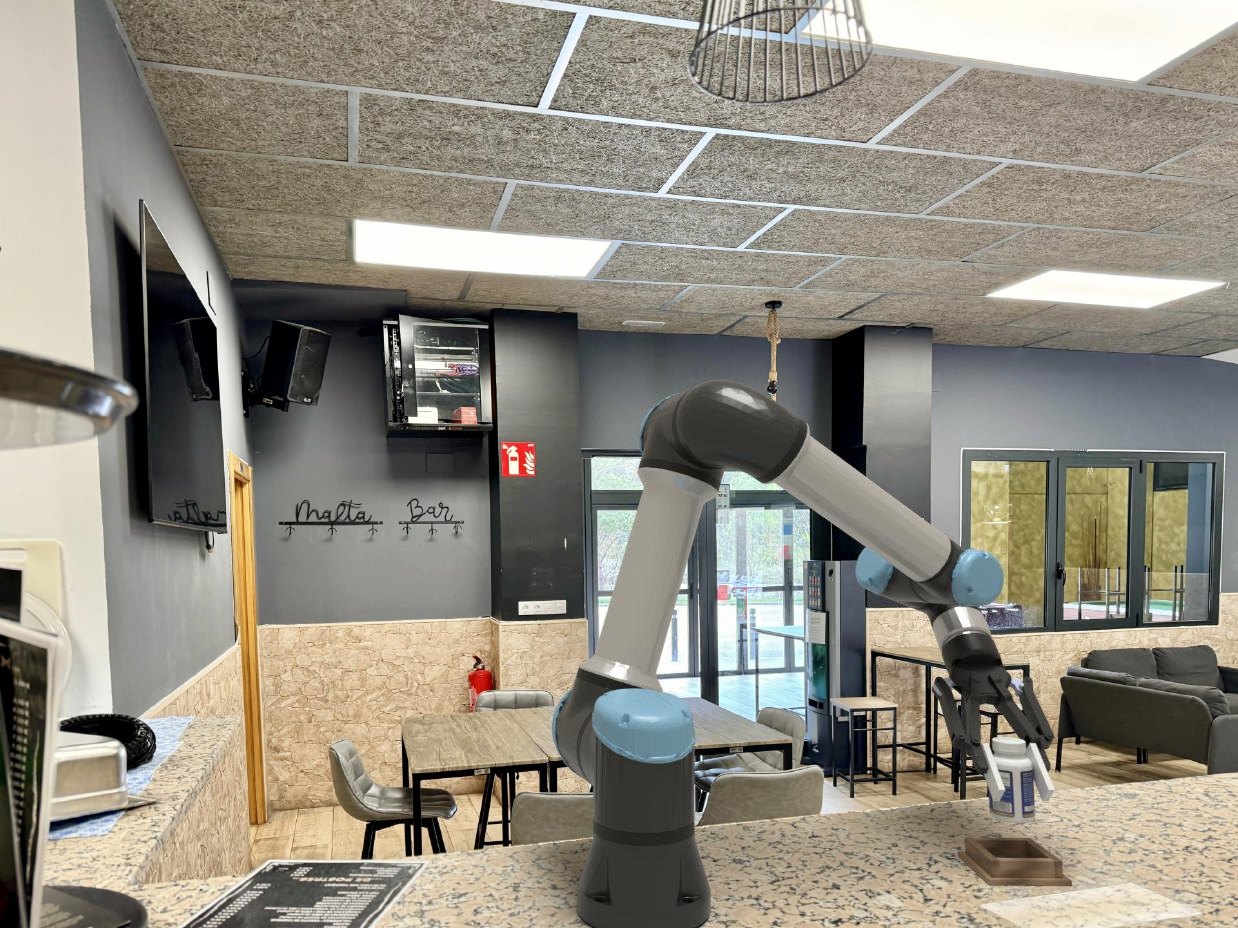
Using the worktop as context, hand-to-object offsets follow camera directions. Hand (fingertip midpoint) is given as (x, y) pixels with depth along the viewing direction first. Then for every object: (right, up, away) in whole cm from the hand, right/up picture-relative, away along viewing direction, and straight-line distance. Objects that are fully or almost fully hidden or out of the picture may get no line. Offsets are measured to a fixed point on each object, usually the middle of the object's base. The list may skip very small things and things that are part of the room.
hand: (1023, 795), depth 106 cm
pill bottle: (0, -4, +3) cm, 6 cm away
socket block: (0, -11, +2) cm, 11 cm away
